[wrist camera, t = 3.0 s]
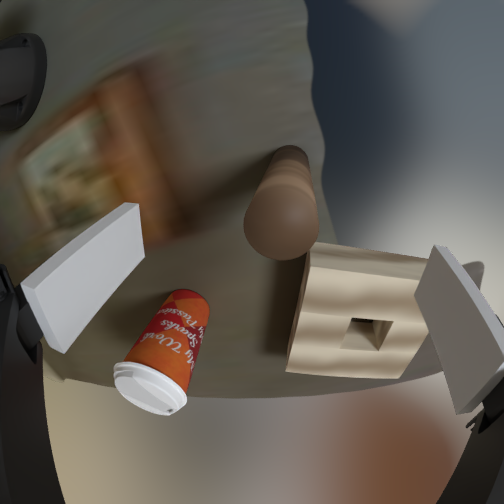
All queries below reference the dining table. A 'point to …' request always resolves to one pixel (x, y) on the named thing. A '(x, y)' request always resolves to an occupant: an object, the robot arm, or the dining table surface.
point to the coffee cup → (165, 355)
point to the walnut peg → (283, 208)
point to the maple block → (356, 313)
